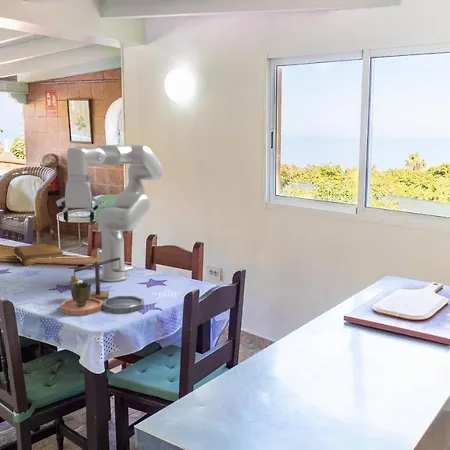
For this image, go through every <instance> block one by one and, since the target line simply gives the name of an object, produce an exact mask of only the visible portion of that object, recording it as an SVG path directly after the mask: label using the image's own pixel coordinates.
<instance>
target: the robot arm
mask: <svg viewBox="0 0 450 450" xmlns="http://www.w3.org/2000/svg"><path fill="white" fill-rule="evenodd" d="M66 154H67V155H66V156H67V157H66V158H67V159H66V160H67V161H66V162H67V182H66V184H65V190H64V191H65V193H64V194H65V195H64V197H62V198H60V199H58V200H56V201H55V203H56V205H57V207H58V208H59V210H61V211H62V212H63V220H64V221H65V223H68V222H69V212H68V209H69V208H70V209H80V208H81V209H88V210H90V212H89V222H90V223H93V221H94V220H95V211H97V209H99V207H100V205H101V203H102V202H101V200H100V199H97V198H96V197H93V196H92V187H91V186H92V185H91V182H89V181H90V180H92V176H90V175H89V174H88V166H91V167H92V166H93V167H97V166H100V165H105V166H108V165H109V166H116V165H118V166H119V165H129V166H128V170H127V176H128V183H127V186H126V187H125V188H124V189H123V190H122V192H121V193H120V194H118V196H117V197H116V199H115V200H114V204H113V205H114V206H111V207H104V208H103V209H101V210H100V212H99V214H98V224H99V228H100V233H101V234H100V236H101V262H102V261H106V260H109V259H113V258H117V257H120V260H118V261H114V262H110V263H107V264H103V265H101V268H102V270H101V271H102V273H101V274H100V281H102V282H121V281H125V280H127V279H128V278H129V276H128V275H129V274H127V273H128V272H133V270H134V268H133V266H128V267H127V266H125V238H124V235H123V232H122V231H124V232H130V231H131V232H132V231H134V230H135V229H136V228H137V227H138V226H139V224H140V223H141V222H142V221H143V219H144V218H145V217H146V216H147V214H148V212H149V210H150V207H151V202H150V199H149V196H148V195H146V194H145V187H144V184H143V181H144V180H145V181H159V180H160V179H161V178H162V177H163V173H164V169H163V165H162V163H161V162H160V160H159V159H158V157H157V156H156V155H155V153H154V151H152V149H151V148H150V147H149V146H147V145H144V144H106V145H85V146H83V145H81V146H74V147H69V148H68V149H67V151H66ZM63 202H64V205H65V207H64V206H63V205H62V203H63ZM93 202H94V203H96V204H95V205H94V207H93ZM115 267H126V268H128V271H126V272H113V271H112V269H113V268H115Z"/></svg>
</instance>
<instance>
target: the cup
mask: <svg viewBox="0 0 450 450" xmlns="http://www.w3.org/2000/svg"><path fill="white" fill-rule="evenodd" d="M69 286H70V292H71V297H72V298H71V299H73V300H74V301H75V302H76V305H77V306H79V307H82V306H85V305H86V301H88V299H89V298H90V293H91V291H92V284H91V283H89V284H88V282H85V281H83V283H82V284H81V282H80V283H79V284H78V283H76V284H75V283H74V284H71V285H69Z"/></svg>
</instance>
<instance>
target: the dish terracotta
mask: <svg viewBox="0 0 450 450" xmlns="http://www.w3.org/2000/svg"><path fill="white" fill-rule="evenodd" d="M103 302H104V300H99V299H96V298H89V299H88V301H86V305H85V306H82V307H79V306H77V305H76V302H75V301H74V300H73V298H70V299H67V300H64V301H62V303H61V304H60V305H59V312H61V313H64V314H66V315H68V316H86V315H91V314H95V313H98V312H101V311H102V310H103V309H102V304H103Z"/></svg>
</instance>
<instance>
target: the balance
mask: <svg viewBox="0 0 450 450" xmlns="http://www.w3.org/2000/svg"><path fill="white" fill-rule="evenodd" d="M118 260H120V257H117V258H113V259H109V260H106V261H102V260H101V261H95V262H94V263H92V264H88V265H85V266H81V267H78V268H74V269H73V275H71V276H70V279H69V280H67V281H66V285H69V286H70V285H71V284H74V283H75V284H76V283H78V284H79V283H80V282H81V284H82V283H83V282H84V280H83V279H79V275H76V273H77V272H80V271H84V270H88V269H91V268H94V269H95V270H94V271H95V278H94V279H95V291H94V290H93V291H92V290H91V293H90V298H96V299H99V300H102V301H104V300H105V299H108V298H109V295H110V290H101V283H100V281H101V280H100V275H101V274H100V273H101V272H100V267H101V266H102V265H103V264H107V263H110V262H114V261H118ZM126 267H127V266H124V267H115V268H113V269H112V271H113V272H126V271H128V267H127V268H126ZM128 272H129V271H128Z"/></svg>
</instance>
